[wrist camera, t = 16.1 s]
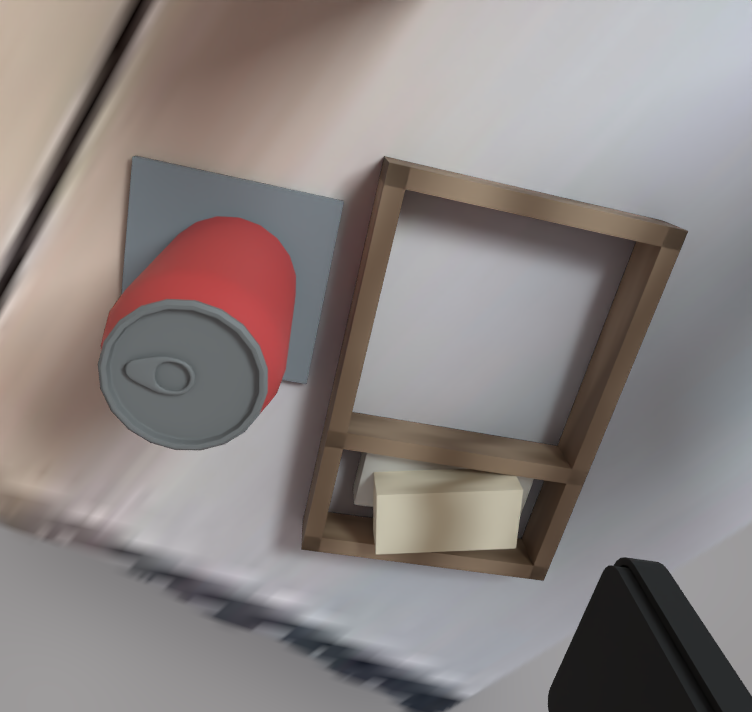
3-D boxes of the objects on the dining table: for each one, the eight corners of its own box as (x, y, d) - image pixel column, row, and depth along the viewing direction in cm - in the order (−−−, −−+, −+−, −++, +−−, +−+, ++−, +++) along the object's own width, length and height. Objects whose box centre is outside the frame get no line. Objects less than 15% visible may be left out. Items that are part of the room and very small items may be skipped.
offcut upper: (512, 467, 37) (523, 489, 35) (505, 523, 38) (515, 548, 36) (373, 472, 36) (376, 495, 34) (372, 529, 38) (376, 554, 36)
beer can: (171, 200, 31) (86, 266, 20) (307, 229, 32) (299, 306, 21) (158, 326, 33) (75, 449, 22) (285, 349, 34) (266, 477, 23)
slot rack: (663, 220, 33) (688, 231, 31) (531, 553, 42) (543, 580, 39) (384, 156, 31) (389, 162, 29) (302, 522, 39) (301, 549, 37)
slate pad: (343, 200, 32) (343, 202, 31) (306, 380, 35) (306, 384, 35) (135, 155, 30) (132, 156, 30) (119, 348, 34) (117, 351, 33)
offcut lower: (525, 450, 39) (536, 471, 37) (506, 504, 41) (516, 526, 39) (366, 426, 38) (368, 445, 36) (352, 482, 39) (354, 504, 37)
